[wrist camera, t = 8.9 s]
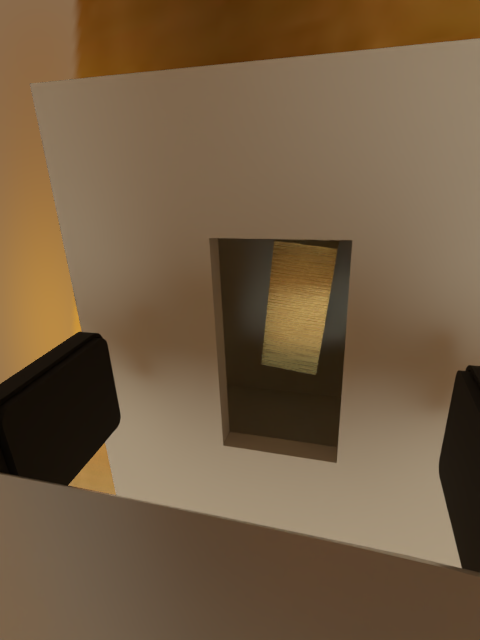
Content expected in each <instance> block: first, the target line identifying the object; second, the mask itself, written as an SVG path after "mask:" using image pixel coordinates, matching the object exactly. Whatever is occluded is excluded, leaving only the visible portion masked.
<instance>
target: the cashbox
mask: <svg viewBox="0 0 480 640" xmlns="http://www.w3.org/2000/svg"><path fill="white" fill-rule="evenodd" d="M30 87H31V92H32V96H33V101H34V106H35V111H36V115H37V120H38V125H39V130H40V134H41V139H42V144H43V149H44V153H45V158H46V163H47V168H48V172H49V177H50V182H51V187H52V192H53V196H54V201H55V206H56V211H57V215H58V220H59V225H60V230H61V234H62V239H63V244H64V249H65V253H66V258H67V263H68V267H69V272H70V277H71V282H72V287H73V291H74V296H75V301H76V306H77V310H78V315H79V320H80V325H81V329H82V332H90V333H99V334H100V335H101V336H102V337H103V339H105V340H106V341H107V344H108V349H109V354H110V360H111V365H112V371H113V376H114V381H115V387H116V392H117V398H118V403H119V408H120V414H121V419H120V423H119V426H118V427H117V429H116V430H115V431H114V432H113V433H112V434H111V436H110V437H109V438H108V439H107V440H106V441H105V444H106V448H107V453H108V458H109V463H110V467H111V472H112V477H113V482H114V486H115V491H116V495H117V496H122V497H128V498H133V499H138V500H143V501H148V502H152V503H157V504H162V505H167V506H172V507H177V508H182V509H187V510H192V511H197V512H202V513H207V514H212V515H217V516H222V517H226V518H231V519H236V520H241V521H246V522H251V523H255V524H260V525H265V526H270V527H275V528H279V529H284V530H289V531H294V532H299V533H304V534H308V535H313V536H318V537H323V538H328V539H332V540H337V541H342V542H347V543H352V544H356V545H361V546H366V547H371V548H375V549H380V550H385V551H390V552H394V553H400V554H405V555H409V556H413V557H417V558H421V559H425V560H429V561H433V562H437V563H442V564H446V565H450V566H454V567H458V568H462V566H461V562H460V558H459V554H458V550H457V546H456V542H455V538H454V534H453V530H452V526H451V522H450V518H449V514H448V510H447V505H446V501H445V497H444V493H443V489H442V485H441V481H440V477H439V458H440V453H441V448H442V443H443V438H444V433H445V428H446V423H447V418H448V412H449V407H450V402H451V397H452V392H453V387H454V382H455V377H456V373H457V371H458V370H461V371H465V370H466V367H467V366H468V365H473V366H480V38H478V39H468V40H458V41H448V42H438V43H429V44H419V45H409V46H399V47H389V48H379V49H369V50H359V51H349V52H339V53H329V54H319V55H309V56H299V57H289V58H279V59H269V60H259V61H249V62H239V63H229V64H219V65H209V66H200V67H190V68H180V69H170V70H160V71H150V72H140V73H130V74H120V75H110V76H100V77H90V78H80V79H70V80H60V81H50V82H40V83H30ZM275 239H300V240H340V241H339V247H338V253H337V259H336V265H335V270H334V276H333V282H332V288H331V294H330V300H329V305H328V311H327V317H326V323H325V329H324V334H323V340H322V345H321V350H320V356H319V361H318V367H317V372H316V375H313V374H308V373H303V372H298V371H293V370H288V369H282V368H277V367H272V366H267V365H262V364H261V362H262V353H263V343H264V333H265V324H266V314H267V304H268V295H269V285H270V275H271V266H272V256H273V246H274V240H275Z"/></svg>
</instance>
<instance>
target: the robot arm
mask: <svg viewBox="0 0 480 640" xmlns="http://www.w3.org/2000/svg"><path fill="white" fill-rule="evenodd" d="M120 419H121V414H120V408H119V403H118V398H117V392H116V387H115V381H114V376H113V371H112V365H111V360H110V354H109V349H108V344H107V341H106V340H105V339H103V337H102V336H101V335H100V334H99V333H90V332H78V333H76V334H75V335H73V336H72V337H70V338H69V339H67V340H66V341H64V342H63V343H61V344H60V345H58V346H57V347H55V348H54V349H52V350H51V351H49V352H48V353H46V354H45V355H43V356H42V357H40V358H39V359H37V360H36V361H34V362H33V363H31V364H30V365H28V366H27V367H25V368H24V369H22V370H21V371H19V372H18V373H16V374H15V375H13V376H12V377H10V378H9V379H7V380H5V381H4V382H2V383H1V384H0V640H480V366H473V365H468V366H467V367H466V370H465V371H461V370H458V371H457V373H456V377H455V382H454V387H453V392H452V397H451V402H450V407H449V412H448V418H447V423H446V428H445V433H444V438H443V443H442V448H441V453H440V458H439V477H440V481H441V485H442V489H443V493H444V497H445V501H446V505H447V510H448V514H449V518H450V522H451V526H452V530H453V534H454V538H455V542H456V546H457V550H458V554H459V558H460V562H461V566H462V568H458V567H454V566H450V565H446V564H442V563H437V562H433V561H429V560H425V559H421V558H417V557H413V556H409V555H405V554H400V553H394V552H390V551H385V550H380V549H375V548H371V547H366V546H361V545H356V544H352V543H347V542H342V541H337V540H332V539H328V538H323V537H318V536H313V535H308V534H304V533H299V532H294V531H289V530H284V529H279V528H275V527H270V526H265V525H260V524H255V523H251V522H246V521H241V520H236V519H231V518H226V517H222V516H217V515H212V514H207V513H202V512H197V511H192V510H187V509H182V508H177V507H172V506H167V505H162V504H157V503H152V502H148V501H143V500H138V499H133V498H128V497H122V496H117V495H112V494H108V493H102V492H97V491H92V490H87V489H82V488H77V487H72V486H68V485H69V483H70V482H71V481H72V480H73V479H74V478H75V476H76V475H77V474H78V473H79V472H80V471H81V469H82V468H83V467H84V466H85V465H86V464H87V462H88V461H89V460H90V459H91V458H92V457H93V455H94V454H95V453H96V452H97V451H98V450H99V448H100V447H101V446H102V445H103V444H104V443H105V441H106V440H107V439H108V438H109V437H110V436H111V434H112V433H113V432H114V431H115V430H116V429H117V427H118V426H119V423H120Z"/></svg>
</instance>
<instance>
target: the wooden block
mask: <svg viewBox="0 0 480 640" xmlns="http://www.w3.org/2000/svg"><path fill="white" fill-rule="evenodd" d="M339 241H340V240H300V239H275V240H274V246H273V256H272V266H271V275H270V285H269V295H268V304H267V314H266V324H265V333H264V343H263V353H262V362H261V364H262V365H267V366H272V367H277V368H282V369H288V370H293V371H298V372H303V373H308V374H313V375H316V372H317V367H318V361H319V356H320V350H321V345H322V340H323V334H324V329H325V323H326V317H327V311H328V305H329V300H330V294H331V288H332V282H333V276H334V270H335V265H336V259H337V253H338V247H339Z"/></svg>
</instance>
